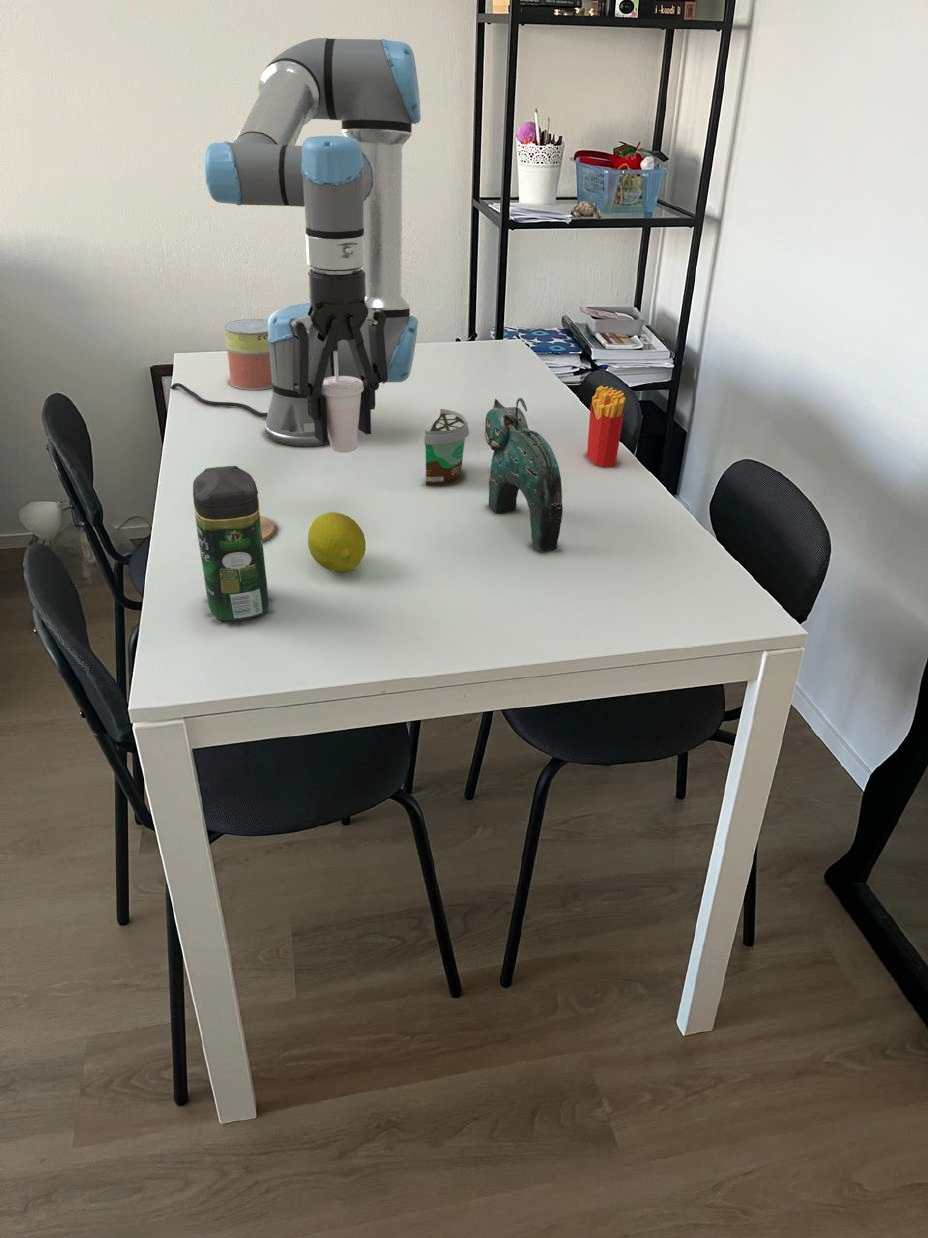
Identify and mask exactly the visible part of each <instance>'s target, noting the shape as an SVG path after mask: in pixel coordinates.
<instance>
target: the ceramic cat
mask: <svg viewBox="0 0 928 1238" xmlns="http://www.w3.org/2000/svg"><path fill="white" fill-rule="evenodd" d="M493 403H494V404H493V406H492V408H491V409H490V410H489V411H487V413H486V416H485V423H484V424H485V425H484V439H485V442H486V443H487V445H488V446H489V447H490V449H491V451H493V454H492V458H491V464H490V473H489V479H488V507H489V508H490V509H491V511H493V512H494V513H496V514H506V513H507V514H508V513H512V512H516V510H517V502H518V501H517V499H518V495H519V490H520V491H521V493H522V495H523V496H524V498H525V500H526V504H527V506H528V511H529V520H530V533H531V545H532V547H533V549H534V550H536V551H538V552H540V553H545V552H549V551H555V550H557V547H558V543H559V536H560V533H561V525H562V519H563V510H564V509H563V508H564V507H563V490H562V489H563V488H562V477H561V472H560V467H559V463H558V461H557V457H556V455H555V453H554V451H553V448H552V447H551V445H550V444H549V442H548V441H547V440H546V439H545V437H543V435H542V434H540V433H539V432H537V431H535V430H530V428H529V427H528V422H527V419H526V417H525V413H524V412H523V411H522V409H520V407H519V403H521V406H522V408H523V409H524V411H525V412H527V411H528V407H527V404H526V401H524V399H523V398H522V397H518V398H517V400H516V404H515V405H516V406H509V407H506V406H504V405H502V403H501V402H500V401H499V400H498V399H497V398H495V399H494V401H493Z"/></svg>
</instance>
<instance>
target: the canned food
mask: <svg viewBox="0 0 928 1238" xmlns="http://www.w3.org/2000/svg"><path fill="white" fill-rule="evenodd" d="M268 320H269V319H263V318H246V319H245V318H243V319H237V320H233V321H230V322H227V323H226V324H225V325H224V329H225V339H226V340H225V341H226V348H227V358H228V359H227V360H228V369H229V383H230V386H232V387H234V388H237V389H241V390H245V391H260V390H262V391H263V390H269V389H272V377H271V365H270V353H269V343H268V341H267V339H268Z"/></svg>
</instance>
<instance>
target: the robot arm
mask: <svg viewBox="0 0 928 1238" xmlns="http://www.w3.org/2000/svg"><path fill="white" fill-rule="evenodd" d="M418 80H419V79H418V72H417V65H416V59H415V54H414V51H413V49H412V47H411V46H410V45H409V44H408V43H406V42H403V41H397V40H390V39H385V38H381V39H375V38H374V39H370V38H369V39H367V38H329V37H317V38H311V39H307V40H304V41H301V42H299V43H296V44H294V45H292V46H291V47H288V48H286V49H285V50H284V51H281V53H279V54H278V55H277V56H276V57H274V58H273V59H272V60H271V61H270V62H269V63H268V64H267V65H266V67H265V69H264V71H263V72H262V74H261V76H260V78H259V82H258V97H257V99H256V100H255V102H254V104H253V106H252V108H251V110H250V112H249V114H248V115H247V117H246V119H245V121H244V123H243V125H242V127H241V128H240V130H239V132H238V134H237V136H236V138H235V139H234V141H233V142H229V141H223V142H212V143H210V144H209V145H208V146H207V148H206V150H205V154H204V160H203V161H204V162H203V163H204V164H203V165H204V167H203V168H204V169H203V170H204V177H205V184H206V188H207V191H208V194H209V196H210V198H211V199H212V200H213V201H214V202H216V203H220V204H230V205H236V206H238V207H239V206H269V207H270V206H274V207H276V206H277V207H300V208H302V207H303V208H304V218H305V242H306V245H305V246H306V262H307V263H306V265H307V266H309V267H310V269H309V271H308V272H307V279H308V280H307V282H308V297H309V302H305V303H297V304H293V305H289V306H285V307H282V308H279V309H277V310H275V311H274V312H273V313H272V314H270V316H269V317H268V319H267V320H268V339H267V341H268V343H269V353H270V365H271V377H272V388H271V389H272V395H271V399H270V403H269V407H268V411H267V412H261V411H258V410H255V409H254V408H253V407H252V406H250V405H247V404H245V403H240V402H233V401H232V402H230V401H213V400H208V399H204V398H202V397H201V396H200V395H199V394H197V393H196V392H194V391H192V390H191V389H190V388H188V387H187V386H185V385H184V384H183V383H179V382H175V383H173V384H172V385H171V387H170V389H171V390H174V389H176V388H177V387H178V388H180V389H182V390H183V391H185V393H187V394H189V395H190V396H192V397H194V398H195V399H196V400H197V401H198V402H200V403H202V404H205V405H210V406H217V407H218V406H219V407H236V408H237V407H238V408H242V409H244V410H247V411H249V412H251V413H252V414H253V415H255V416H258V417H263V418H265V417H266V419H265V423H264V424H265V425H264V426H265V434H266V437H268V439H269V440H272V441H274V442H275V443H279V444H282V445H286V446H293V447H314V446H321V445H322V446H323V445H327V444H330V440H329V434H328V429H327V413H326V397H324V396H323V395H321V390H322V385H323V381H324V378H327V377H333V376H335V371H334V352H333V351H338V372H339V376H350V377H355V378H358V379H360V380H362V382H363V387H364V390H363V391H362V392H361V403H360V413H359V425H358V431H360V432H362V433H363V434H365V435H366V436H367V435H372V417H371V416H372V415H371V414H372V413H371V410H375V408H376V391H377V390H379V388H380V384H386V383H403V382H405V381H407V380H408V378H409V377H410V375H411V373H412V372H411V371H412V366H413V361H414V356H415V350H416V343H417V335H418V324H419V319H418V318H417V317H416V316H414V315H411V313H410V312H411V305H410V304H409V303H408V302H407V301H406V300H405V299H404V298H403V295H402V269H403V268H402V264H403V263H402V261H403V260H402V257H403V256H402V255H403V254H402V251H403V250H402V249H403V248H402V243H403V232H402V231H403V148H404V145H405V144H406V143H407V141H409V139H410V138H411V137H412V131H413V128H412V127H413V125H417V124H418V123H420V122H421V117H422V116H421V100H420V90H419V89H420V88H419V81H418ZM312 120H329V121H341V133H342V134H343V135H315V136H308V137H306V138H305V139H304V140H303V141H302V144H301V145H296V144H297V142H298V139H299V136H300V134H301V132H302V130H303V128H304V125H306V124H307V125H308V123H309V122H311V121H312ZM412 124H413V125H412Z"/></svg>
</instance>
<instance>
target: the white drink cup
mask: <svg viewBox="0 0 928 1238" xmlns="http://www.w3.org/2000/svg"><path fill="white" fill-rule="evenodd" d="M333 352H334V371H335V376H333V377H327V378H324V381H323V385H322V390H321V395H323V396H324V397H326V413H327V429H328V434H329V440H330V443H329V445H330V450H332V451H333V452H335V453H342V454H343V453H344V454H345V453H351V452H354V451H355V450H357V448H358V447H357V446H358V437H359V435H358V434H359V429H358V425H359V413H360V403H361V392H362V391H363V390H364V387H363V382H362V380H360V379H358V378H355V377H350V376H339V372H338V351H333Z"/></svg>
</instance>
